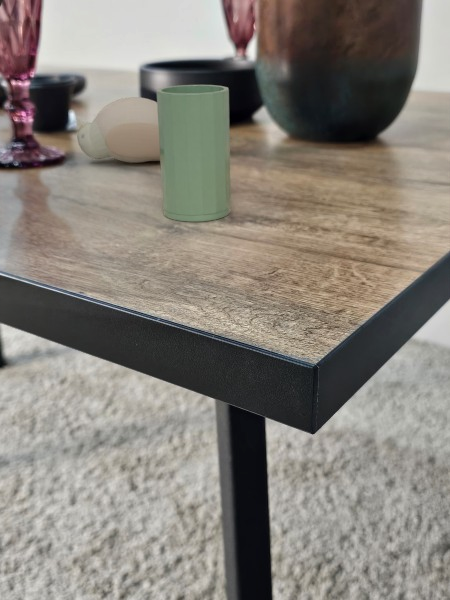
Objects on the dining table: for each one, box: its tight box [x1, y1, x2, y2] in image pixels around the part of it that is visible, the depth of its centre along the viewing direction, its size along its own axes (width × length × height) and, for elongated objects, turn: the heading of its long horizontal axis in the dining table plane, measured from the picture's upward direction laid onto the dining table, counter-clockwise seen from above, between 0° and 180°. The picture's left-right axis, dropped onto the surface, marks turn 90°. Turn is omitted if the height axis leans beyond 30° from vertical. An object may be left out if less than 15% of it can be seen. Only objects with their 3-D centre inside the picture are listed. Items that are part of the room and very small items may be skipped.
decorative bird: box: [75, 96, 160, 164], centre depth 87 cm, size 9×16×8 cm, turn 97°
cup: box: [156, 84, 232, 223], centre depth 66 cm, size 6×6×11 cm
